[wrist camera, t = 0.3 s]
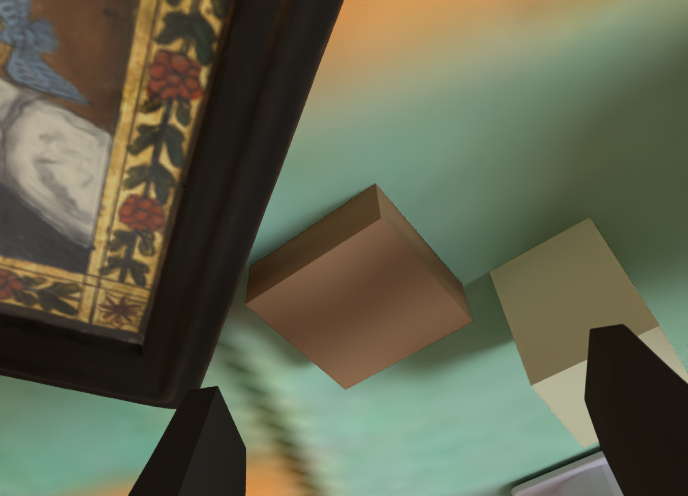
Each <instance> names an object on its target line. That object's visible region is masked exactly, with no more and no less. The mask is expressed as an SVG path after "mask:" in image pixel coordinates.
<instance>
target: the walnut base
mask: <svg viewBox="0 0 688 496" xmlns="http://www.w3.org/2000/svg"><path fill="white" fill-rule="evenodd" d="M245 305H246V306H247V307H248V308H250V309H251V310H252V311H253V312H254V313H256V314H257V315H258V316H259V317H260V318H261V319H263V320H264V321H265V322H266V323H267V324H269V325H270V326H271V327H272V328H273V329H274V330H276V331H277V332H278V333H279V334H280V335H281V336H283V337H284V338H285V339H286V340H287V341H289V342H290V343H291V344H292V345H293V346H294V347H296V348H297V349H298V350H299V351H300V352H302V353H303V354H304V355H305V356H306V357H307V358H309V359H310V360H311V361H312V362H313V363H315V364H316V365H317V366H318V367H319V368H320V369H322V370H323V371H324V372H325V373H326V374H327V375H329V376H330V377H331V378H332V379H333V380H335V381H336V382H337V383H338V384H339V385H340V386H342V387H343V388H344V389H345V390H346V389H348V388H350V387H352V386H353V385H355V384H357V383H359V382H361V381H363V380H365V379H367V378H368V377H370V376H372V375H374V374H376V373H378V372H380V371H381V370H383V369H385V368H387V367H389V366H391V365H393V364H395V363H396V362H398V361H400V360H402V359H404V358H406V357H408V356H409V355H411V354H413V353H415V352H417V351H419V350H421V349H423V348H424V347H426V346H428V345H430V344H432V343H434V342H436V341H438V340H439V339H441V338H443V337H445V336H447V335H449V334H451V333H452V332H454V331H456V330H458V329H460V328H462V327H464V326H466V325H467V324H469V323H471V322H473V320H472V317H471V314H470V310H469V307H468V304H467V300H466V297H465V294H464V290H463V287H462V284H461V282H460V281H459V280H458V279H457V278H456V277H455V275H454V274H453V273H452V272H451V271H450V270H449V268H448V267H447V266H446V265H445V264H444V263H443V261H442V260H441V259H440V258H439V257H438V256H437V254H436V253H435V252H434V251H433V250H432V249H431V247H430V246H429V245H428V244H427V243H426V242H425V240H424V239H423V238H422V237H421V236H420V235H419V233H418V232H417V231H416V230H415V229H414V228H413V226H412V225H411V224H410V223H409V222H408V221H407V219H406V218H405V217H404V216H403V215H402V214H401V212H400V211H399V210H398V209H397V208H396V207H395V205H394V204H393V203H392V202H391V201H390V200H389V198H388V197H387V196H386V195H385V194H384V193H383V191H382V190H381V189H380V188H379V187H378V186H377V184H374V185H373V186H371V187H370V188H368V189H367V190H365V191H364V192H362V193H361V194H359V195H358V196H356V197H355V198H353V199H352V200H350V201H349V202H347V203H346V204H344V205H343V206H341V207H340V208H338V209H336V210H335V211H333V212H332V213H330V214H329V215H327V216H326V217H324V218H323V219H321V220H320V221H318V222H317V223H315V224H314V225H312V226H311V227H309V228H308V229H306V230H305V231H303V232H302V233H300V234H299V235H297V236H296V237H294V238H293V239H291V240H290V241H288V242H287V243H285V244H284V245H282V246H281V247H279V248H278V249H276V250H275V251H273V252H272V253H270V254H269V255H267V256H266V257H264V258H263V259H261V260H260V261H258V262H257V263H255V264H254V265H252V266H251V267H250V271H249V279H248V286H247V294H246V302H245Z"/></svg>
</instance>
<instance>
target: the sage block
mask: <svg viewBox="0 0 688 496" xmlns="http://www.w3.org/2000/svg"><path fill="white" fill-rule="evenodd" d="M490 275H491V278H492V281H493V283H494V286H495V289H496V292H497V294H498V297H499V300H500V302H501V305H502V308H503V311H504V313H505V316H506V319H507V322H508V324H509V327H510V330H511V332H512V335H513V338H514V341H515V343H516V346H517V349H518V352H519V354H520V357H521V360H522V362H523V365H524V368H525V371H526V373H527V376H528V379H529V382H530V384H531V386H532V387H533V389H534V390H535V391H536V392H537V393H538V395H539V396H540V397H541V398H542V399H543V400H544V402H545V403H546V404H547V405H548V406H549V408H550V409H551V410H552V411H553V412H554V414H555V415H556V416H557V417H558V418H559V419H560V421H561V422H562V423H563V424H564V425H565V427H566V428H567V429H568V430H569V431H570V432H571V434H572V435H573V436H574V437H575V438H576V440H577V441H578V442H579V443H580V444H581V445H582V447H583V448H585V447H587V446H589V445H592V444H594V443H597V442H599V441H598V438H597V436H596V433H595V430H594V427H593V424H592V421H591V418H590V415H589V413H588V410H587V407H586V404H585V401H584V394H585V382H586V369H587V357H588V344H589V332H590V329H592V328H598V327H605V326H611V325H618V324H624V325H625V326H627V327H628V328H629V329H630V330H631V331H632V332H633V333H634V334H635V335H636V336H638V337H639V338H640V339H641V340H642V341H643V342H644V343H645V344H646V345H647V346H648V347H649V348H650V349H651V350H652V351H653V352H654V353H655V354H656V355H657V356H659V357H660V358H661V359H662V360H663V361H664V362H665V363H666V364H667V365H668V366H669V367H670V368H671V369H673V370H674V371H675V372H676V373H677V374H678V375H679V376H680V377H681V378H682V379H683V380H685V381H686V382H687V383H688V373H687V371H686V370H685V368H684V366H683V364H682V363H681V361H680V359H679V358H678V356H677V354H676V353H675V351H674V349H673V347H672V346H671V344H670V342H669V341H668V339H667V337H666V336H665V334H664V332H663V331H662V329H661V327H660V325H659V324H658V322H657V321H656V319H655V318H654V316H653V315H652V313H651V312H650V310H649V308H648V307H647V305H646V304H645V302H644V301H643V299H642V298H641V296H640V294H639V293H638V291H637V290H636V288H635V287H634V285H633V284H632V282H631V281H630V279H629V277H628V276H627V274H626V273H625V271H624V270H623V268H622V267H621V265H620V263H619V262H618V260H617V259H616V257H615V256H614V254H613V253H612V251H611V249H610V248H609V246H608V245H607V243H606V242H605V240H604V239H603V237H602V236H601V234H600V232H599V231H598V229H597V228H596V226H595V225H594V223H593V222H592V220H591V218H590V217H589V218H587V219H585V220H583V221H582V222H580V223H578V224H576V225H574V226H573V227H571V228H569V229H567V230H565V231H563V232H562V233H560V234H558V235H556V236H554V237H552V238H551V239H549V240H547V241H545V242H543V243H541V244H540V245H538V246H536V247H534V248H532V249H530V250H529V251H527V252H525V253H523V254H521V255H519V256H518V257H516V258H514V259H512V260H510V261H508V262H507V263H505V264H503V265H501V266H499V267H497V268H496V269H494V270H492V271H490Z"/></svg>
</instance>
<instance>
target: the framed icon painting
mask: <svg viewBox="0 0 688 496" xmlns="http://www.w3.org/2000/svg"><path fill="white" fill-rule="evenodd" d="M343 1H344V0H0V375H3V376H8V377H12V378H17V379H22V380H27V381H32V382H37V383H41V384H46V385H50V386H55V387H60V388H64V389H70V390H75V391H80V392H85V393H90V394H95V395H99V396H104V397H109V398H114V399H120V400H124V401H129V402H133V403H138V404H143V405H149V406H154V407H160V408H168V409H177V408H178V406H179V404H180V402H181V400H182V399H183V397H184V395H185V394H186V392H187V391H188V390H194V389H200V387H201V385H202V382H203V379H204V377H205V374H206V371H207V369H208V366H209V364H210V361H211V358H212V356H213V353H214V350H215V347H216V344H217V341H218V338H219V336H220V333H221V330H222V327H223V324H224V321H225V319H226V316H227V313H228V311H229V308H230V305H231V303H232V300H233V297H234V294H235V292H236V289H237V286H238V284H239V281H240V278H241V275H242V273H243V270H244V267H245V265H246V262H247V259H248V257H249V254H250V251H251V249H252V246H253V243H254V240H255V238H256V235H257V232H258V229H259V227H260V224H261V221H262V218H263V215H264V213H265V210H266V207H267V205H268V202H269V200H270V197H271V194H272V192H273V189H274V187H275V184H276V182H277V179H278V176H279V174H280V171H281V168H282V166H283V163H284V160H285V157H286V155H287V152H288V149H289V147H290V144H291V141H292V138H293V136H294V133H295V130H296V128H297V125H298V122H299V120H300V117H301V114H302V111H303V108H304V106H305V103H306V100H307V97H308V95H309V92H310V89H311V87H312V84H313V81H314V78H315V75H316V72H317V70H318V67H319V64H320V62H321V59H322V56H323V54H324V51H325V49H326V46H327V43H328V41H329V38H330V36H331V33H332V30H333V27H334V25H335V22H336V20H337V17H338V15H339V12H340V9H341V7H342V4H343Z"/></svg>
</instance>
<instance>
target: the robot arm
mask: <svg viewBox="0 0 688 496" xmlns="http://www.w3.org/2000/svg"><path fill="white" fill-rule="evenodd" d="M584 401H585V404H586V407H587V410H588V413H589V415H590V418H591V421H592V424H593V427H594V430H595V433H596V436H597V438H598V441H599V444H600V447H601V449H602V451H600V452H598V453H595V454H593V455H590V456H588V457H586V458H583V459H581V460H578V461H576V462H573V463H571V464H569V465H566V466H564V467H561V468H559V469H556V470H554V471H552V472H549V473H547V474H544V475H542V476H539V477H537V478H535V479H532V480H530V481H527V482H525V483H522V484H520V485H518V486H516V487H514V488H513V489H512V490H511V494H512V496H688V383H687V382H686V381H685V380H683V379H682V378H681V377H680V376H679V375H678V374H677V373H676V372H675V371H674V370H673V369H671V368H670V367H669V366H668V365H667V364H666V363H665V362H664V361H663V360H662V359H661V358H660V357H659V356H657V355H656V354H655V353H654V352H653V351H652V350H651V349H650V348H649V347H648V346H647V345H646V344H645V343H644V342H643V341H642V340H641V339H640V338H639V337H638V336H636V335H635V334H634V333H633V332H632V331H631V330H630V329H629V328H628V327H627V326H625V325H624V324H618V325H611V326H605V327H598V328H592V329H590V332H589V344H588V357H587V369H586V382H585V394H584ZM245 493H246V447H245V445H244V443H243V441H242V438H241V436H240V434H239V432H238V430H237V427H236V425H235V423H234V421H233V419H232V416H231V414H230V412H229V410H228V407H227V405H226V403H225V401H224V399H223V396H222V394H221V392H220V390H219V387H218V386H214V387H207V388H201V389H194V390H188V391H187V392H186V394H185V395H184V397H183V399H182V400H181V402H180V404H179V406H178V408H177V410H176V412H175V414H174V415H173V417H172V419H171V421H170V423H169V425H168V427H167V428H166V430H165V432H164V434H163V436H162V438H161V439H160V441H159V443H158V445H157V447H156V448H155V450H154V452H153V454H152V456H151V457H150V459H149V461H148V462H147V464H146V466H145V468H144V469H143V471H142V473H141V474H140V476H139V478H138V479H137V481H136V483H135V485H134V486H133V488H132V490H131V491H130V493H129V495H128V496H245Z"/></svg>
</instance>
